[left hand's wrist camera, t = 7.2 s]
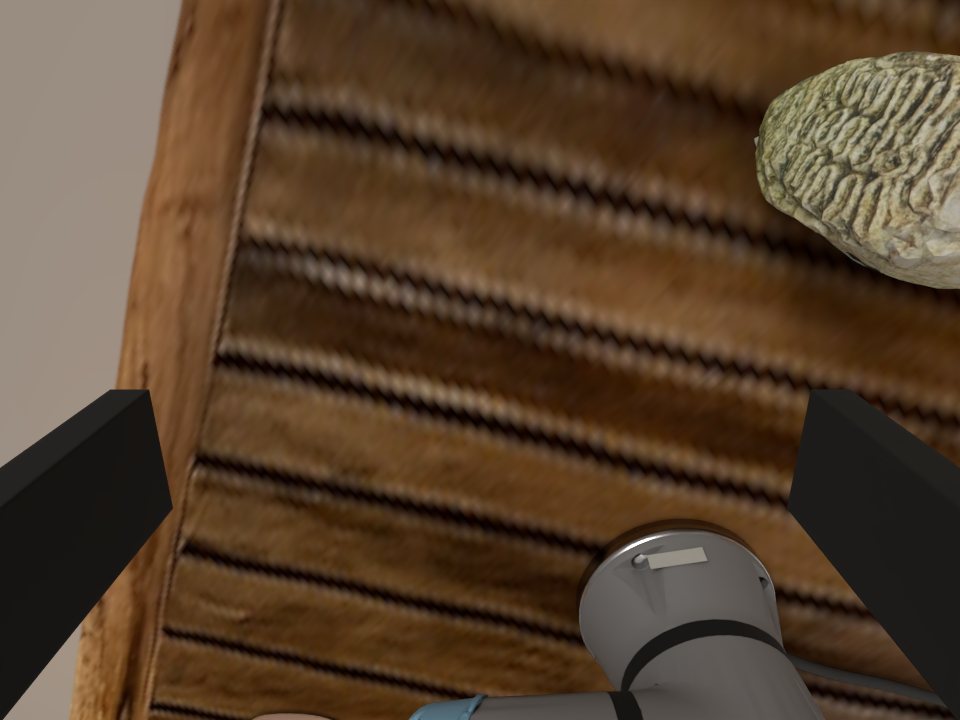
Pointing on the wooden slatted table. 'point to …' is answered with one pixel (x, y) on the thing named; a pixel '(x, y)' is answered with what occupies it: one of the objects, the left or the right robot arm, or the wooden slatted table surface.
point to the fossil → (873, 162)
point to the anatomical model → (290, 717)
